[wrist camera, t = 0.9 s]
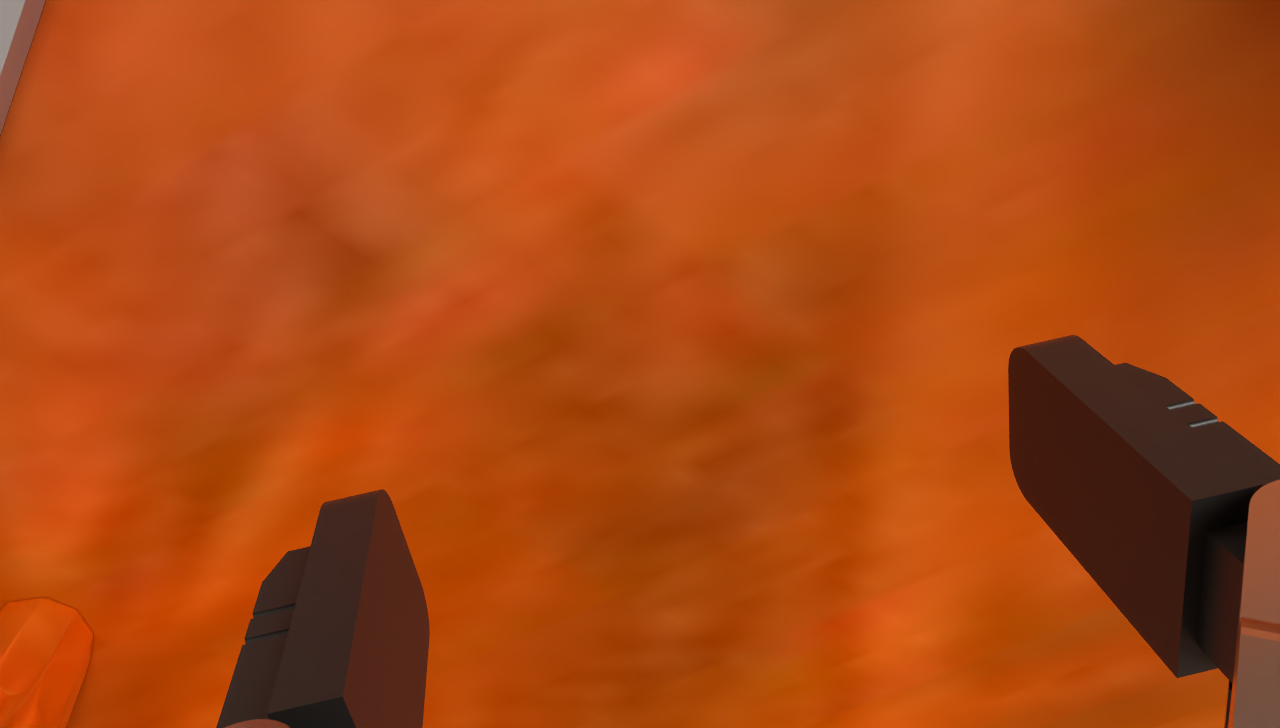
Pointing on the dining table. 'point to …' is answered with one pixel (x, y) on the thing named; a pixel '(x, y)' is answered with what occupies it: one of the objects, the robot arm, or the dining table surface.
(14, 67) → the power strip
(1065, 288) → the dining table surface
